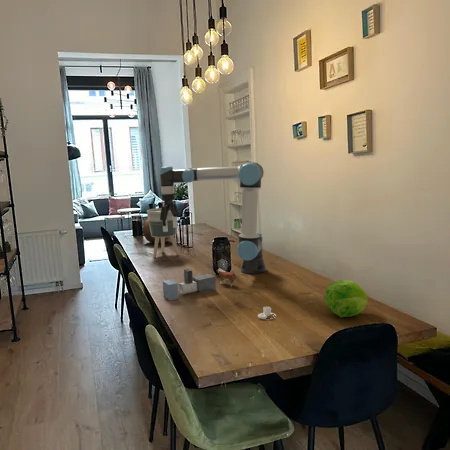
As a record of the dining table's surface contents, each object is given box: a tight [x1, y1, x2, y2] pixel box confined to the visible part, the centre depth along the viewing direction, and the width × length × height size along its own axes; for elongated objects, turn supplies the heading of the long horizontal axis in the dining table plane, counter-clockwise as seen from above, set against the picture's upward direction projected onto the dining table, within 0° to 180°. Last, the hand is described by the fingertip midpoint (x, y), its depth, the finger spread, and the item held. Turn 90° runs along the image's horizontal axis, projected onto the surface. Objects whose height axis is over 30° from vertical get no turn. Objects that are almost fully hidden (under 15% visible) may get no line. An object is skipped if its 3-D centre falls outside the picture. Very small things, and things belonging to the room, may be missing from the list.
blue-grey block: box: [162, 279, 179, 301], centre depth 220 cm, size 4×8×8 cm, turn 31°
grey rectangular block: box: [192, 273, 217, 295], centre depth 230 cm, size 10×7×7 cm
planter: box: [146, 207, 180, 259], centre depth 314 cm, size 22×22×33 cm
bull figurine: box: [216, 268, 237, 287], centre depth 239 cm, size 4×13×8 cm, turn 45°
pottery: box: [142, 218, 169, 244], centre depth 360 cm, size 23×23×25 cm
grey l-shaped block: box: [178, 268, 198, 295], centre depth 227 cm, size 17×4×11 cm, turn 121°
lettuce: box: [324, 279, 369, 318], centre depth 187 cm, size 17×20×15 cm
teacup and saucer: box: [257, 306, 277, 320], centre depth 190 cm, size 9×8×4 cm
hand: (170, 229), depth 258 cm, fingers open, 13 cm apart
